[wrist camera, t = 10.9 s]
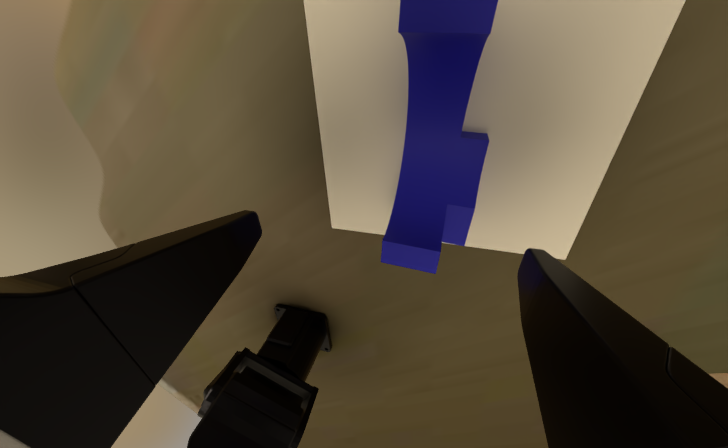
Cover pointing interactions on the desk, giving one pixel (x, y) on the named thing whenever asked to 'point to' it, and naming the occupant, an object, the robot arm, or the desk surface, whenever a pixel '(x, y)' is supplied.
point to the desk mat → (489, 110)
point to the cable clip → (438, 130)
